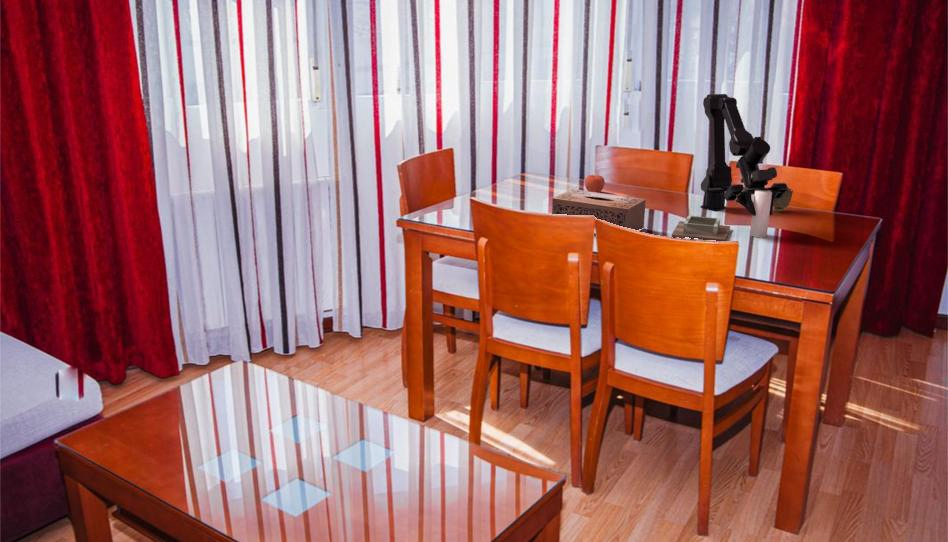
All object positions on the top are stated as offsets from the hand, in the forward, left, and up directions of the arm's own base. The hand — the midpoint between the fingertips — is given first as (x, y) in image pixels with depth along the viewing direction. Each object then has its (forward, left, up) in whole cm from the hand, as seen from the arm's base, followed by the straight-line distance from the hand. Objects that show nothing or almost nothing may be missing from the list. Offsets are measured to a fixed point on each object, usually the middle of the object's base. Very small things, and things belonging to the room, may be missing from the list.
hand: (762, 215), depth 260 cm
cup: (-14, +32, -7) cm, 35 cm away
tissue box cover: (-39, -32, -7) cm, 51 cm away
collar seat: (-14, -12, -7) cm, 19 cm away
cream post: (-1, +1, -7) cm, 7 cm away
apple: (-72, +1, -7) cm, 72 cm away
